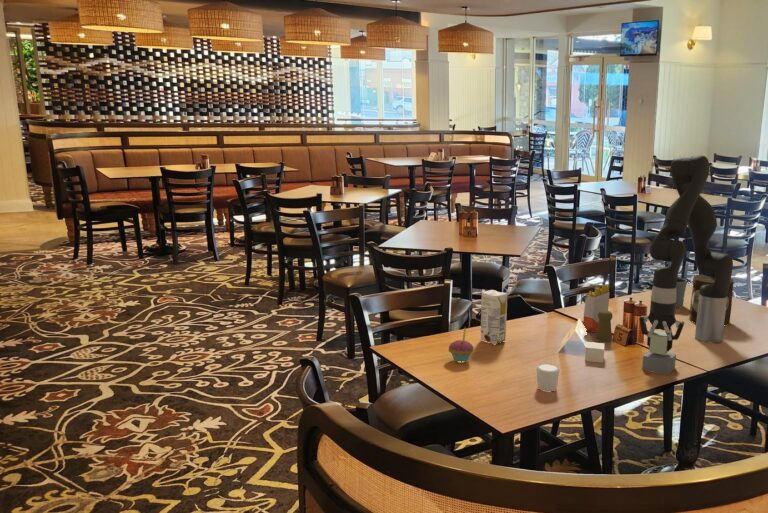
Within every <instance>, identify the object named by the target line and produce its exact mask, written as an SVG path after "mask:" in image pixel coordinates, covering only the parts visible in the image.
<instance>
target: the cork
mask: <svg viewBox="0 0 768 513" xmlns="http://www.w3.org/2000/svg"><path fill="white" fill-rule="evenodd" d="M598 318H599V323H598V328H597V332H596V334H595V338H594V339H595V340H596V341H599V342H603V343H608V342H612V341H613V335H612V319H613V313H612V312H611V311H610V310H608V311H605V310H603V311H600V312H599V313H598Z"/></svg>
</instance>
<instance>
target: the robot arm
mask: <svg viewBox="0 0 768 513" xmlns="http://www.w3.org/2000/svg"><path fill="white" fill-rule="evenodd" d="M710 169H711V168H710V161H709V159H708V157H707V156H705V155H686V156H685V155H684V156H678V157H675V158H673V159H672V161H671V163H670V174H671V178H672V181H673V184H674V187H675V189H676V191H677V194H678V196H679V197H678V198H677V199H675V201H674V202H673V203H671V205H670V206H669V208H668V210H666V211H667V212H666V213H665V217H664V222H663V225H662V226H661V228H660V230H659V232H658V233H657V234H656V235H655V237H654V239H653V240H652V242H651V243H650V246H649V255H650V257H651V258H652V259H654V260H656V261H662V262H671V263H670V265H669V266H661V267H657V268H655V269H654V271H653V280H652V281H653V282H652V289H651V293H650V294H651V295H650V306H649V314H648V315H643V314H642V315H641V316H640V317H639V326H640V330H641V334H642V335H645V336H646V337H647V341H646V345H647V346H648V348H649V349H650V339H651V334H653V332H654V331H656V330H661V331H664V333H666V334H667V337H668V341H667V351H668V352H669V351H670V350H672V348H673V341H674V340H676V341H677V340H679V338H680V336H681V333H682V331H683V329H684V326H685V322H684V321H680V320H677V319H676V316H675V315H676V308H675V306H676V295H677V292H676V286H677V277H678V276H679V273H680V272H679V271H680V268H681V265H682V263H683V261H684V258H685V255H686V252H687V246H686V244H685V243H684V242H683V241H682V240H677V238H682V237H683V236H684V235H685V234H686V232H687V228H688V230H689V233H690V237H691V240H692V245H693V250H694V256H695V257H694V258H695V263H696V264H695V265H696V268H697V271H698V272H699V274H700V275H705V276H709V277H714V278H715V282H714V283H713V284H708V285H703V286H701V287H700V292H699V303H698V312H697V322H696V323H695V334H694V338H695V340H697V339H698V340H697V341H700V340H701V341H700V342H703V341H705V342H704V343H708V342H719V343H721V342H720V341H722V342H723V337H724V329H725V328H724V327H725V326H724V320H725V311H726V301H727V293H728V290H729V287H730V280H731V279H732V273H733V268H734V261H733V258H732V256H731V255H730V254H728V253H724V252H723V253H722V252H717V251H713V250H712V249H710V244H709V242H710V240H711V238H712V237H713V236H714V234H715V232H716V229H717V227H718V221H717V218H716V214H715V210H714V208H713V206H712V205H711V204H710V202H708V201H707V199H705V198H704V197H703V196H702V195H701V193H702V191H703V189H704V186H705V184H706V183H707V180H708V177H709V174H710ZM648 321H649V323H650V324H651V327H650V329H649V330H648V327H647V322H648ZM674 324H675V327H676V328H677V329H676V331H675V333H674V334H673V330H672V326H673V325H674Z"/></svg>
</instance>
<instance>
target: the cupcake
mask: <svg viewBox="0 0 768 513" xmlns="http://www.w3.org/2000/svg"><path fill="white" fill-rule="evenodd" d="M466 328H467V326H465V327H464V328H463V335H462V340H460V339H459V340H455V341H453V342H452V343H450V344H449V346H448V352H449V353H450V354H451V355H452V359H453V361H454V360H455V361H461V362H462V361H467V360H468V361H469V358H470V356H471V354H472V353H473V351H474V346H473V345H472V343H470V341H468V340H465V339H466V333H467V332H466V331H467V329H466ZM455 361H454V362H455ZM468 361H467V362H468Z"/></svg>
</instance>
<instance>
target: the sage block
mask: <svg viewBox="0 0 768 513" xmlns="http://www.w3.org/2000/svg"><path fill="white" fill-rule="evenodd" d="M667 341H668V337H667V334H666V332H665V331H657V330H655V331H654V332H653V334H651V339H650V348H649V350H648V351H649V352H651V353H656V354H662V355H666V354H667V353H669V351H667Z"/></svg>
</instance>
